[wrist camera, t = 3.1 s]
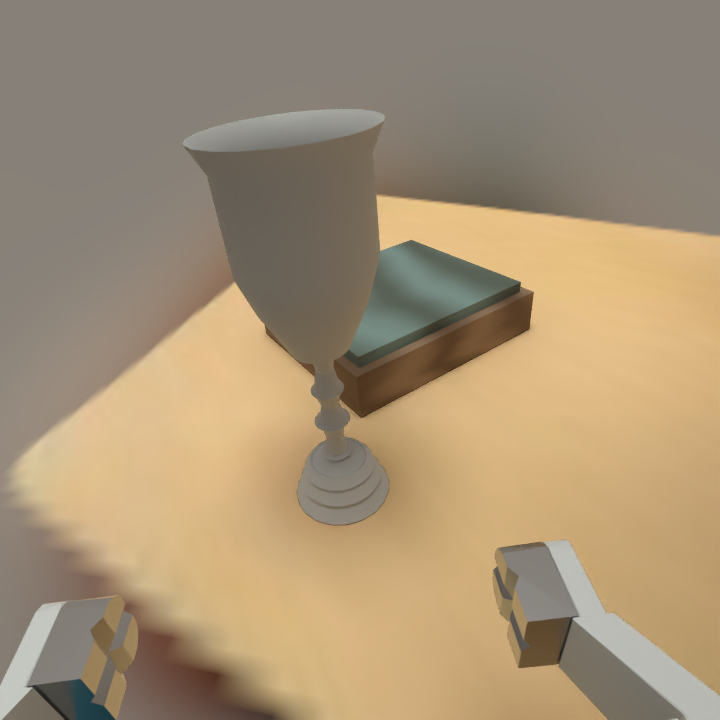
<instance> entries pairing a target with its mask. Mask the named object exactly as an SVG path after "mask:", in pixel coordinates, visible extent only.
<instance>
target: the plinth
mask: <svg viewBox="0 0 720 720" xmlns="http://www.w3.org/2000/svg"><path fill="white" fill-rule="evenodd" d="M520 285H521V282H519V281H516V280H514V279H511V278H509V277H506V276H503V275H501V274H498V273H496V272H493V271H490V270H488V269H485V268H483V267H480V266H477V265H475V264H472V263H470V262H467V261H465V260H462V259H459V258H457V257H454V256H452V255H449V254H446V253H444V252H441V251H439V250H436V249H433V248H431V247H428V246H426V245H423V244H421V243H418V242H415V241H413V240H410V241H407V242H404V243H401V244H399V245H396V246H393V247H390V248H387V249H385V250H382V251H380V256H379V263H378V267H377V271H376V275H375V279H374V283H373V287H372V290H371V294H370V298H369V302H368V305H367V307H366V310H365V312H364V314H363V317H362V319H361V322H360V324H359V327H358V329H357V332H356V334H355V337H354V339H353V342H352V344H351V346H350V348H349V349H348V351H347V352H346V353H345V354H344V355H342V356H341V357H340V358H337V359H335V360H334V365H333V367H334V370H335V372H336V375H337V377H338V379H339V380H341V381H342V382H343V384H344V390H343V392H342V393H341V394H340V397H339V398H340V399H341V400H342V401H343V402H344V403H346V404H347V405H348V406H349V407H350V408H351V409H352V410H353V411H355V412H356V413H357V414H358V415H359V416H360V417H363V416H365V415H367V414H369V413H371V412H373V411H375V410H376V409H378V408H380V407H382V406H384V405H386V404H388V403H390V402H392V401H394V400H395V399H397V398H399V397H401V396H403V395H405V394H407V393H409V392H411V391H412V390H414V389H416V388H418V387H420V386H422V385H424V384H426V383H428V382H430V381H431V380H433V379H435V378H437V377H439V376H441V375H443V374H445V373H447V372H449V371H450V370H452V369H454V368H456V367H458V366H460V365H462V364H464V363H466V362H468V361H469V360H471V359H473V358H475V357H477V356H479V355H481V354H483V353H485V352H487V351H488V350H490V349H492V348H494V347H496V346H498V345H500V344H502V343H504V342H506V341H507V340H509V339H511V338H513V337H515V336H517V335H519V334H521V333H523V332H525V331H526V330H528V329H529V327H530V319H531V310H532V302H533V294H534V292H532V291H530V290H527V289H525V288H522V287H520ZM265 328H266V333H267V334H268V335H269V336H270V337H271V338H272V339H273V340H274V341H276V342H277V343H278V344H279V345H280V346H281V347H282V348H283V349H285V350H286V348H285V347H284V346H283V345H282V344H281V343H280V342H279V340H278V339H277V338H276V337H275V336H274V335H273V334H272V332H271V331H270V330H269V329H268V328H267V327H266V326H265ZM286 351H287V350H286ZM287 352H288V351H287ZM288 353H289V352H288ZM289 354H290V353H289ZM290 355H291V354H290ZM291 356H292V355H291ZM292 357H293V356H292ZM297 361H298V360H297ZM298 362H299V363H300V364H302V365H303V366H304V367H305V368H306V369H307V370H308V371H309V372H311V373H312V374H313V375H314V376H315V368H314V366H313V364H307V363H302V362H300V361H298Z"/></svg>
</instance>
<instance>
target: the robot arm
mask: <svg viewBox="0 0 720 720" xmlns="http://www.w3.org/2000/svg"><path fill="white" fill-rule="evenodd" d="M495 560H496V563H497V567H496V568H495V569H494V570H493V587H494V594H495V598H496V602H497V605H498V608H499V612H500V614H501V615H502V616H503V617H504V618H505V619H506V620H507V621H508V622H509V626H508V633H507V636H508V639H509V642H510V645H511V648H512V651H513V654H514V657H515V660H516V663H517V666H518V668H526V667H536V666H546V665H556V664H559V668H560V669H561V670H562V671H563V672H564V673H565V674H566V675H567V676H568V677H569V678H570V679H571V680H572V681H573V683H574V684H575V685H576V686H577V687H578V688H579V689H580V690H581V691H582V692H583V693H584V694H585V695H586V696H587V697H588V699H589V700H590V701H591V702H592V703H593V704H594V705H595V706H596V707H597V708H598V709H599V710H600V711H601V712H602V713H603V715H604V716H605V717H606V718H607V719H608V720H720V696H719V695H718V694H717V693H715V692H714V691H713V690H711V689H710V688H709V687H708V686H706V685H705V684H704V683H703V682H701V681H700V680H699V679H697V678H696V677H695V676H694V675H692V674H691V673H690V672H689V671H687V670H686V669H685V668H684V667H682V666H681V665H680V664H678V663H677V662H676V661H675V660H673V659H672V658H671V657H670V656H668V655H667V654H666V653H664V652H663V651H662V650H661V649H659V648H658V647H657V646H656V645H654V644H653V643H652V642H650V641H649V640H648V639H647V638H645V637H644V636H643V635H642V634H640V633H639V632H638V631H636V630H635V629H634V628H633V627H631V626H630V625H629V624H628V623H626V622H625V621H624V620H623V619H621V618H620V617H619V616H617V615H616V614H615V613H606V611H605V609H604V607H603V605H602V603H601V601H600V599H599V597H598V595H597V593H596V592H595V590H594V588H593V586H592V584H591V582H590V580H589V578H588V576H587V574H586V572H585V570H584V568H583V566H582V564H581V562H580V561H579V559H578V557H577V555H576V553H575V551H574V549H573V547H572V545H571V544H570V543H569V542H568V541H567V540H564V539H562V540H554V541H547V542H536V543H529V544H522V545H515V546H508V547H501V548H497V549H496V551H495ZM124 605H125V603H124V602H123V600H122V599H121V597H120V596H119V595H117V596H109V597H101V598H92V599H84V600H76V601H64V602H57V603H49V604H43V605H42V606H41V607H40V608H39V610H38V611H37V612H36V613H35V615H34V617H33V619H32V621H31V623H30V625H29V627H28V629H27V631H26V633H25V635H24V637H23V639H22V641H21V643H20V646H19V648H18V650H17V652H16V654H15V656H14V658H13V660H12V662H11V664H10V666H9V668H8V670H7V672H6V675H5V677H4V679H3V681H2V683H1V685H0V720H116V719H117V716H118V712H119V709H120V706H121V702H122V699H123V695H124V692H125V688H126V685H127V683H126V681H125V678H124V676H123V672H124V671H125V670H126V669H127V668H128V667H129V665H130V664H131V663H132V662H133V660H134V656H135V653H136V649H137V643H138V628H137V623H136V620H135V619H134V617H133V615H131V614H129V613H127V612H125V611H123V608H124Z"/></svg>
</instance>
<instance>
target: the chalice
mask: <svg viewBox="0 0 720 720" xmlns="http://www.w3.org/2000/svg"><path fill="white" fill-rule="evenodd" d="M384 118H385V115H383V114H381V113H378V112H375V111H368V110H357V109H333V110H313V111H302V112H292V113H284V114H277V115H270V116H263V117H257V118H252V119H246V120H241V121H236V122H232V123H228V124H224V125H220V126H216V127H212V128H210V129H206V130H203V131H201V132H197V133H195V134H193V135H191V136H190V137H188V138H186V139H185V140H184V142H183V144H182V145H183V146H184V147H185V148H186V150H187V151H188V153H189V154H190V155H191V156H192V157H193V159H194V160H195V161H196V163H197V164H198V165H199V167H200V168H201V169H202V170H203V172H204V173H205V174H206V175H207V178H208V182H209V186H210V190H211V194H212V198H213V201H214V205H215V209H216V213H217V217H218V221H219V225H220V229H221V233H222V237H223V241H224V244H225V248H226V253H227V256H228V260H229V264H230V268H231V272H232V276H233V279H234V281H235V283H236V284H237V286H238V287H239V289H240V290H241V292H242V293H243V295H244V296H245V298H246V299H247V301H248V302H249V304H250V306H251V307H252V309H253V310H254V312H255V313H256V315H257V316H258V317H259V319H260V320H261V321H262V322H263V323H264V324H265V326H266V327H267V328H268V329H269V330H270V331H271V332H272V334H273V335H274V336H275V337H276V338H277V339H278V340H279V342H280V343H281V344H282V345H283V346H284V347H285V348H286V350H287V351H288V352H289V353H290V354H291V355H292V356H293V358H294V359H295V360H298V361H300V362H302V363H307V364H313V366H314V368H315V383H314V385H313V386H312V388H311V394H312V395H313V396H314V397H315V398H317V399H318V401H319V403H320V404H321V411H320V412H319V413H318V414H317V416H316V418H315V425H316V426H317V427H318V428H319V429H321V430H323V431H324V433H325V435H326V437H327V440H326V441H324V442H322V443H320V444H319V445H318V446H317V447H315V448H314V449H313V451H312V452H311V453H310V455H309V456H308V458H307V459H306V463H305V467H304V469H303V472H302V477H301V479H300V481H299V485H298V490H297V495H298V500H299V504H300V506H301V507H302V508H303V510H304V511H305V513H306V514H307V515H309V516H310V517H312V518H313V519H315V520H316V521H319V522H323V523H326V524H330V525H347V524H351V523H354V522H358V521H361V520H363V519H365V518H366V517H368V516H370V515H371V514H373V513H375V512H376V510H377V509H378V508H379V507H380V506H381V505H382V504H383V503H384V501H385V499H386V496H387V494H388V491H389V479H388V476H387V474H386V471H385V469H384V468H383V467H382V466H381V465H380V464H379V462H378V460H377V458H376V457H375V456H374V455H373V454H372V451H371V450H370V449H369V448H368V447H367V446H366V445H365V444H363V443H361V442H359V441H357V440H355V439H352V438H347V437H344V435H343V432H344V427H345V426H346V425H347V424H348V422H349V420H350V415H349V412H348V411H347V410H345V409H343V408H341V406H340V404H339V397H340V394H341V393H342V392H343V390H344V384H343V382H342V381H341V380H339V379H338V377H337V375H336V372H335V370H334V367H333V365H334V360H335V359H337V358H340V357H341V356H342V355H344V354H345V353H346V352H347V351H348V349H349V348H350V346H351V344H352V342H353V339H354V337H355V334H356V332H357V329H358V327H359V324H360V322H361V319H362V317H363V314H364V312H365V310H366V307H367V305H368V302H369V298H370V294H371V290H372V287H373V283H374V279H375V275H376V271H377V267H378V263H379V256H380V243H379V228H378V214H377V200H376V185H375V172H374V157H373V151H374V148H375V146H376V143H377V140H378V137H379V134H380V131H381V128H382V125H383V123H384Z"/></svg>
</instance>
